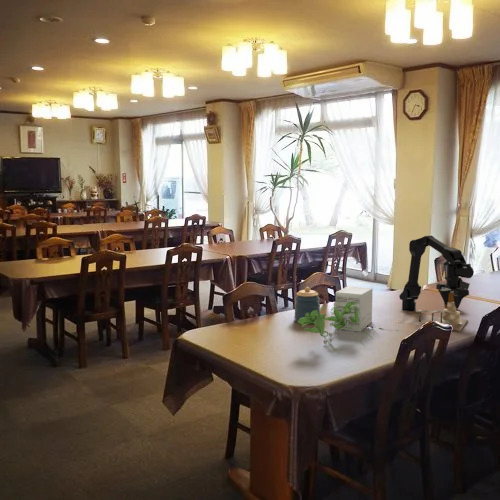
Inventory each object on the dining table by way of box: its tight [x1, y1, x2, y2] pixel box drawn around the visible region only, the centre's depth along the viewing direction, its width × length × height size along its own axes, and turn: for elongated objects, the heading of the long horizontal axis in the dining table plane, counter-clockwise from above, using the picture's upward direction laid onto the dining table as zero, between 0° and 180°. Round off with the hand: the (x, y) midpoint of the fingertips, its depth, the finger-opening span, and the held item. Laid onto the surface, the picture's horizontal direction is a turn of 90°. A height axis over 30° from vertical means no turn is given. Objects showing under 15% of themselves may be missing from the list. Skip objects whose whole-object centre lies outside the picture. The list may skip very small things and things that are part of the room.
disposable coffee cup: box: [443, 291, 454, 309], centre depth 298 cm, size 10×10×12 cm
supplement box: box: [335, 285, 373, 333], centre depth 263 cm, size 17×13×18 cm
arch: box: [442, 302, 461, 324], centre depth 266 cm, size 4×8×10 cm, turn 14°
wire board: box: [396, 309, 469, 333], centre depth 268 cm, size 30×22×7 cm
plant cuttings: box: [296, 302, 374, 355], centre depth 230 cm, size 35×17×22 cm
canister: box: [293, 286, 321, 325], centre depth 273 cm, size 13×13×18 cm
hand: (451, 306), depth 266 cm, fingers open, 8 cm apart
